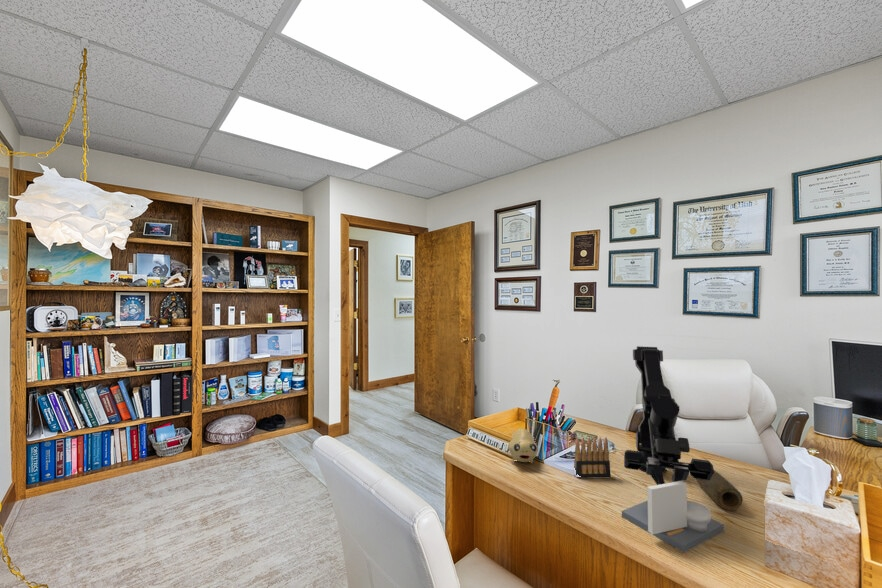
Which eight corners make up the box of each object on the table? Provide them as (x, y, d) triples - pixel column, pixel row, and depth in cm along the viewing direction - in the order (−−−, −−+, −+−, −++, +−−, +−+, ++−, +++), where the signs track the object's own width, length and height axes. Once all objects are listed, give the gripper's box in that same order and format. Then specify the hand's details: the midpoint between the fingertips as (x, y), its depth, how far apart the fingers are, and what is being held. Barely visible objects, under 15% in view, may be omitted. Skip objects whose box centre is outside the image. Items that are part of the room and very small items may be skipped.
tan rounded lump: (510, 469, 120) (509, 436, 120) (507, 454, 132) (506, 424, 132) (541, 471, 119) (540, 437, 119) (535, 455, 131) (535, 424, 131)
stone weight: (749, 515, 94) (749, 488, 94) (718, 513, 95) (718, 486, 95) (716, 485, 109) (716, 462, 109) (690, 484, 110) (689, 461, 110)
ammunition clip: (608, 474, 116) (607, 436, 116) (610, 477, 114) (610, 438, 114) (573, 475, 116) (573, 436, 116) (576, 478, 114) (575, 438, 114)
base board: (621, 516, 94) (621, 502, 94) (661, 500, 101) (660, 487, 101) (683, 552, 80) (683, 536, 80) (724, 530, 88) (723, 515, 88)
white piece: (692, 513, 91) (691, 472, 92) (718, 528, 85) (717, 484, 85) (639, 524, 87) (638, 481, 87) (662, 541, 81) (661, 495, 81)
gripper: (624, 418, 96) (628, 482, 86) (711, 427, 89) (727, 498, 79) (622, 437, 103) (626, 498, 93) (702, 447, 96) (716, 514, 86)
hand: (670, 501), depth 87 cm, fingers closed
